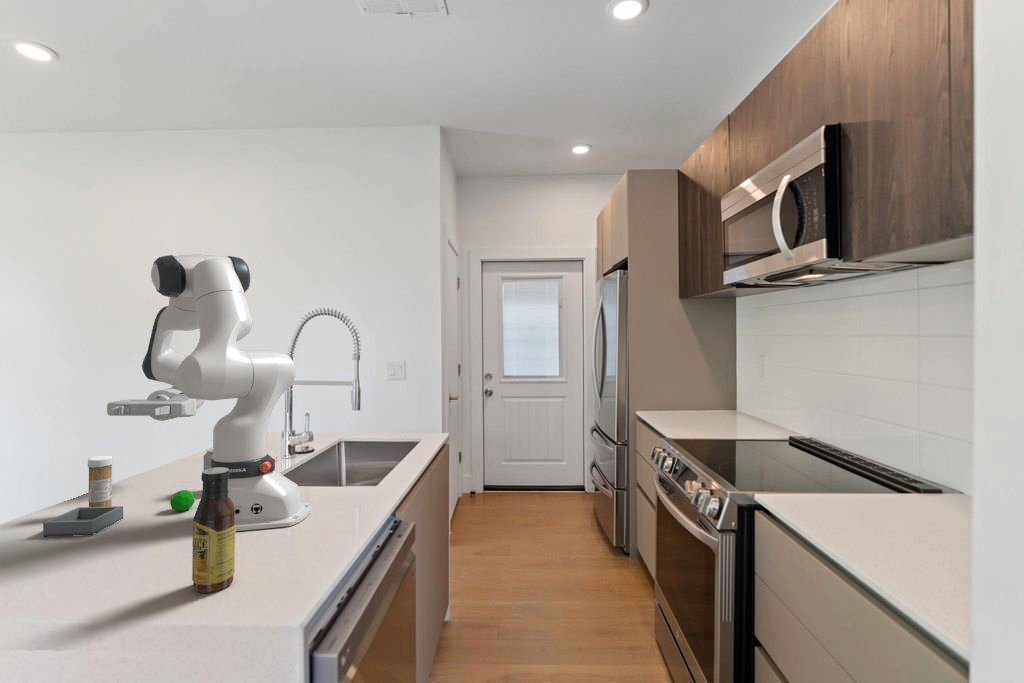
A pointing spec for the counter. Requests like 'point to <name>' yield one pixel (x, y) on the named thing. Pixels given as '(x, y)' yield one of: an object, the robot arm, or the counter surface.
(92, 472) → the sprinkles bottle
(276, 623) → the counter surface
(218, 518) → the sauce bottle
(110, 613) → the counter surface
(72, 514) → the bin
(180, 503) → the polyhedron
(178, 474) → the counter surface
